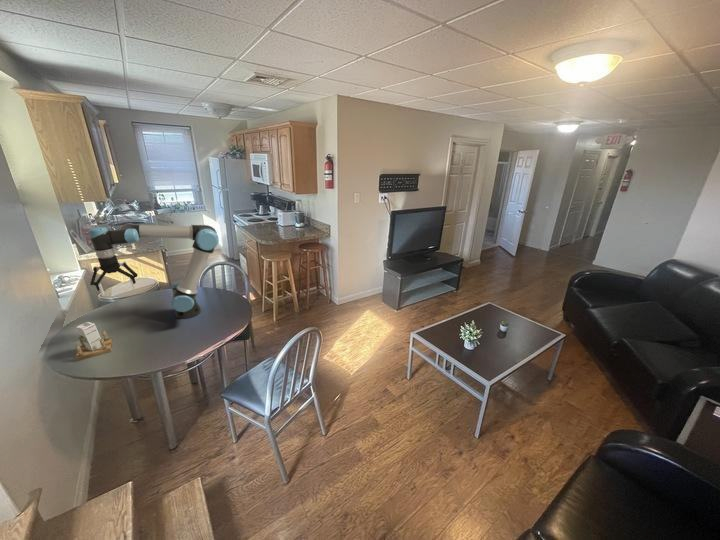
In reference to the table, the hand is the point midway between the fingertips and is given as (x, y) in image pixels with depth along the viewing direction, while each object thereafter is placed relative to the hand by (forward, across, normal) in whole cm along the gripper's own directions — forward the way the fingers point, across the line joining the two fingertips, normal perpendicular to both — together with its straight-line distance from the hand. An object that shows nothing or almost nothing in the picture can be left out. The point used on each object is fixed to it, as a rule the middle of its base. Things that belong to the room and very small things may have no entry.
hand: (119, 292), depth 160 cm
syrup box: (+27, -17, -6) cm, 32 cm away
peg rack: (+29, -17, -6) cm, 34 cm away
